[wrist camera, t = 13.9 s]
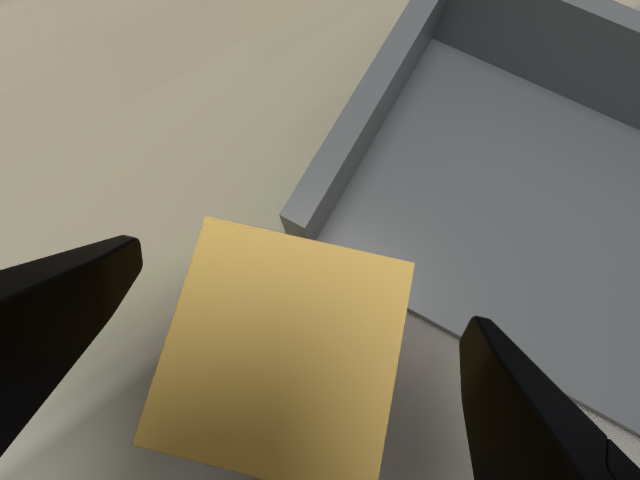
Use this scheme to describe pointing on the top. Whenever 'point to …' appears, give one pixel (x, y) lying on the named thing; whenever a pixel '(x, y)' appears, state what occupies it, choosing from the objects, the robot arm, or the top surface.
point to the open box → (502, 181)
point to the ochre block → (279, 357)
